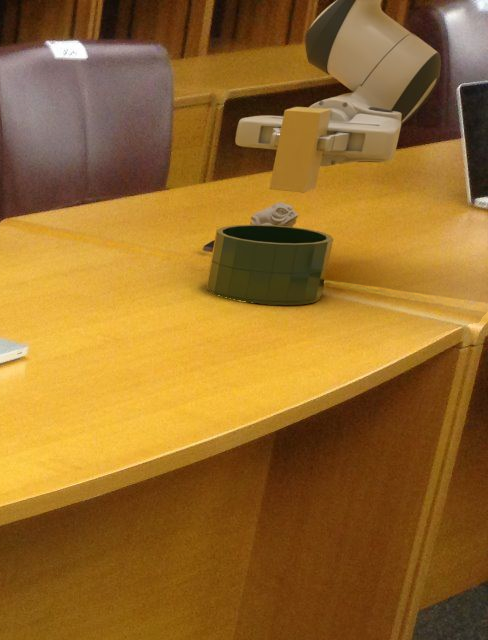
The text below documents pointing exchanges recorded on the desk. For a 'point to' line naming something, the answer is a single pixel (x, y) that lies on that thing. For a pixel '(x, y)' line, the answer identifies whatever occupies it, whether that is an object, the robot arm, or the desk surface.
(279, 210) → the frog figurine
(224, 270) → the pot
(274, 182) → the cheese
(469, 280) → the desk surface
